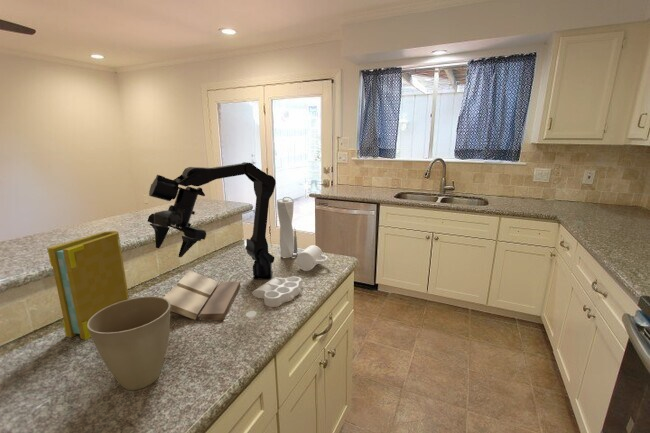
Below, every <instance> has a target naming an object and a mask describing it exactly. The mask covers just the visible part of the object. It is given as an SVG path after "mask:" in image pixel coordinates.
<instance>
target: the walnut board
mask: <svg viewBox="0 0 650 433" xmlns="http://www.w3.org/2000/svg"><path fill="white" fill-rule="evenodd" d="M240 289H241V281H239V280H238V281H236V280H235V281H220V282H219V283H218V285H217V287H216V289H215V290H214V292H213V293H212V295H211V297H210V298H209V300H207V302H206V304H205V306H204V307H203V309H202V310H201V312H200V313H199V315H198V316H197V320H200V321H219V320H225V319H226V317H227V315H228V312H229V311H230V308H232V307H231V306H232V304H233V302H234V300H235V298H236V296H237V294H238V292H239V290H240Z"/></svg>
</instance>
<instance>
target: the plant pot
mask: <svg viewBox="0 0 650 433" xmlns="http://www.w3.org/2000/svg"><path fill="white" fill-rule="evenodd" d="M170 323H171V311H170V302H169V301H168V300H167V299H165V298H164V297H161V296H154V295H153V296H151V295H150V296H139V297H134V298H133V297H132V298H129V299H128V300H124V301H121V302H118V303H115V304H113V305H110V306H108V307H106V308H104V309H102V310H100V311H99V312H97V313H96V314H94V315H93V316H92V317H91V318H90V319H89V321H88V323H87V327H88V330H89V332H90V335H91V337H90V338H91V339H92V342H93V344H94V346H95V348H96V351H97V352H98V354H99V356H100V358H101V359H102V362H103V363H104V364H105V366H106V368H107V369H108V371H109V372H110V373H111V375H112V376H113V377H114V379H115V380H116V381H117V382H118V383H119V384H120V386H121V387H122V388H123V389H124V390H127V391H137V390H141V389H143V388H146V387H149V386H150V385H152V384H153V383H155V381H157V379H158V378H159V377H160V375H161V372H162V370H163V365H164V361H165V358H166V353H167V349H168V342H169V337H170V336H169V334H170Z"/></svg>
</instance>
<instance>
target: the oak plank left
mask: <svg viewBox="0 0 650 433" xmlns="http://www.w3.org/2000/svg"><path fill="white" fill-rule="evenodd" d="M163 298H165V299H167V300H168V301H169V302H170V312H173V313H176V314H178V315H181V316H183V317H187V318H190V319H192V320H195V321H196V319H198V315H199V313H200V312H201V310H202V309H203V307H204V306H205V304H206V303H207V301H208V297H205V296H202V295H200V294H197V293H194V292H192V291H189V290H187V289H184V288H181V287H179V286H177V284H175V285H174V286H173V287H172V288H171V289H170V290H169V291H168V292H167V293H166V294H165V295H164V296H163Z"/></svg>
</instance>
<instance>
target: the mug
mask: <svg viewBox="0 0 650 433" xmlns="http://www.w3.org/2000/svg"><path fill="white" fill-rule="evenodd" d="M295 260H296V262H295V263H296V265H297V267H298V268H299V269H300V270H301V271H304V272H309V271H312V269H314V268H315V267H316V266H317V265H319V264H320V265H322V264H326V263H328V262H329V257H328V256H327V255H325V254H324V252H323V250H322V249H321V248H320V247H319V246H317V245H315V244H314V245H312V244H311V245H309V246H307V247H306V248H305V249H303V250H302V251H301V252H300V253H298V254H297V257H296V258H295Z"/></svg>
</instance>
